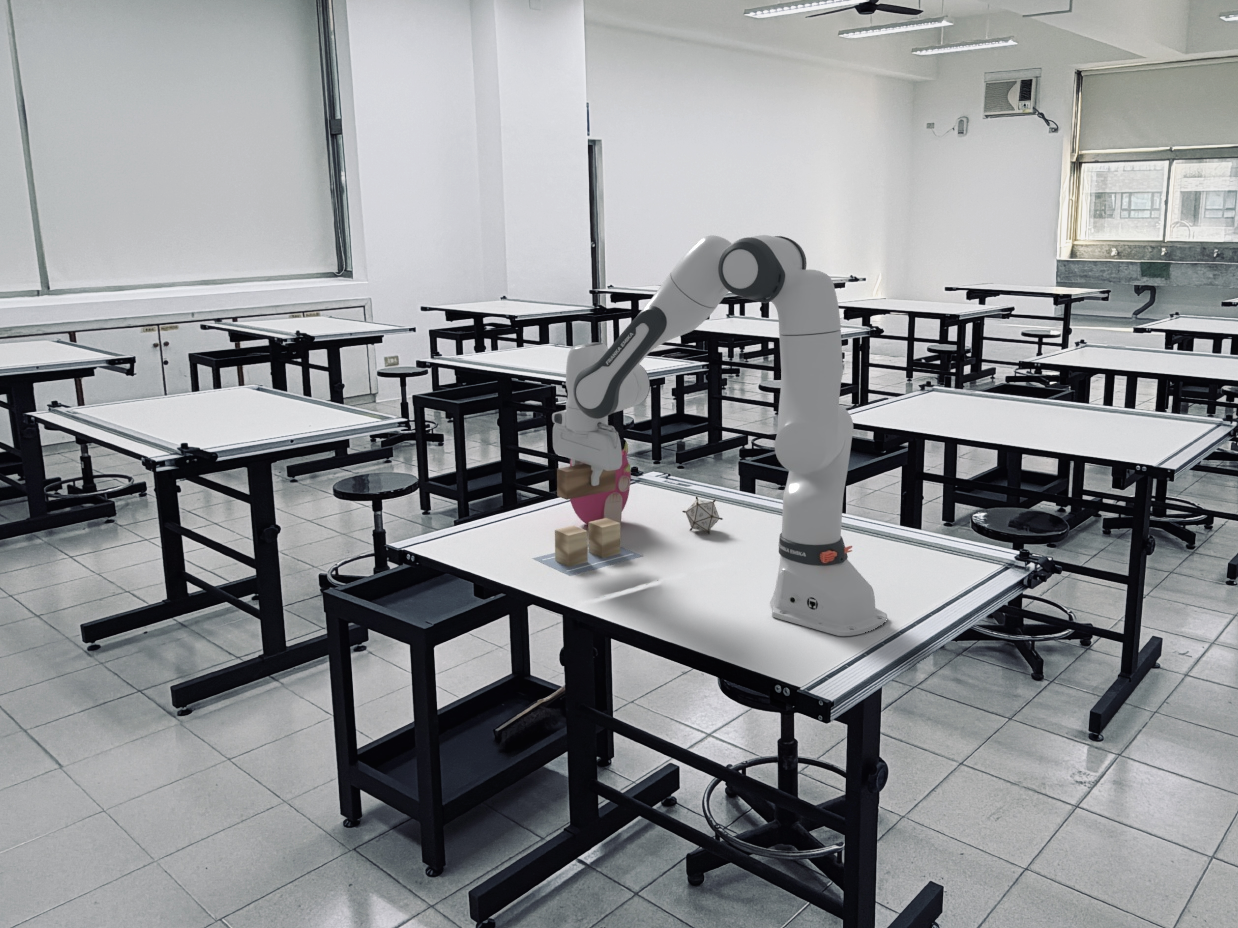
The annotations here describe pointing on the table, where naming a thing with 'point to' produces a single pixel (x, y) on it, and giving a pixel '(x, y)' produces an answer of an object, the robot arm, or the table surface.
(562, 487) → the walnut lintel
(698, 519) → the game die
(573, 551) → the pillar left
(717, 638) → the table surface
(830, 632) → the robot arm
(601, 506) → the pink dragon fruit
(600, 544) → the pillar right
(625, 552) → the blueprint board
